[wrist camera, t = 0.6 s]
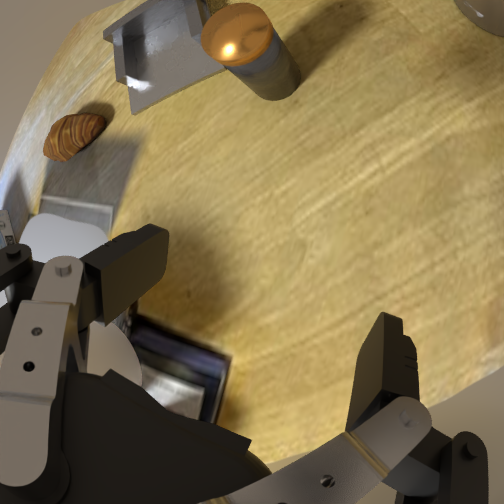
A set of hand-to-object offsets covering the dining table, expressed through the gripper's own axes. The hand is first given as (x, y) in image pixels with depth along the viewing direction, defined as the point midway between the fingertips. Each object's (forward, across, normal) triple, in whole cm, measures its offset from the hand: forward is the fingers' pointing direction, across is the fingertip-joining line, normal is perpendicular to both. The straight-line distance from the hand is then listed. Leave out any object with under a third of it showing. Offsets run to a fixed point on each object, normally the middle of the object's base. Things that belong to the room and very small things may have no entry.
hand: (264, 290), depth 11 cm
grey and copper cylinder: (+22, +8, -8) cm, 25 cm away
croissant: (+22, +34, +4) cm, 41 cm away
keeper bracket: (+24, +22, -10) cm, 34 cm away
